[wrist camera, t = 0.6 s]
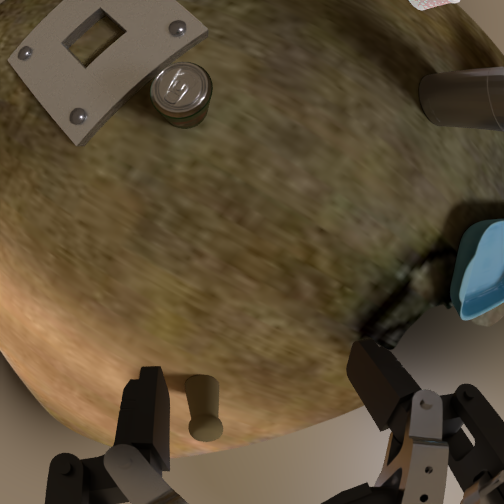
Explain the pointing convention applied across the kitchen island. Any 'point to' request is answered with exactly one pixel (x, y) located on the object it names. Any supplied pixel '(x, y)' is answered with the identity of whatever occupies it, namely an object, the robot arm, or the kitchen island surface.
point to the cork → (203, 407)
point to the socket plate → (101, 58)
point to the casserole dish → (479, 269)
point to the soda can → (182, 94)
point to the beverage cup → (430, 3)
